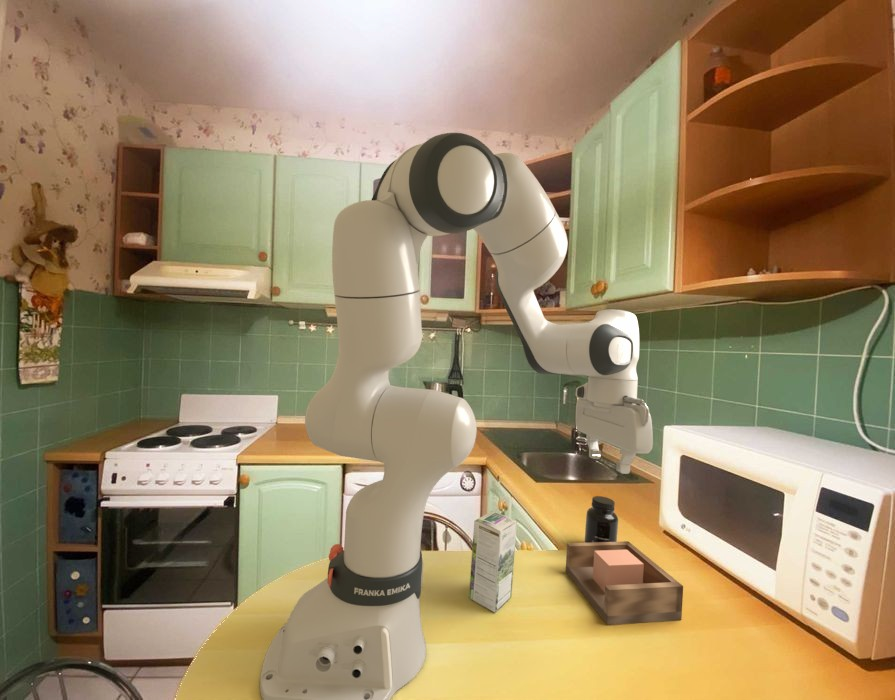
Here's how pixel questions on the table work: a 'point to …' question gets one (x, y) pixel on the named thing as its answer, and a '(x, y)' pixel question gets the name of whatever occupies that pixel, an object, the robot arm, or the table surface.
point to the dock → (625, 587)
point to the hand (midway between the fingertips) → (607, 464)
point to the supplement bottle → (601, 521)
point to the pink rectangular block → (616, 568)
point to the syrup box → (492, 560)
